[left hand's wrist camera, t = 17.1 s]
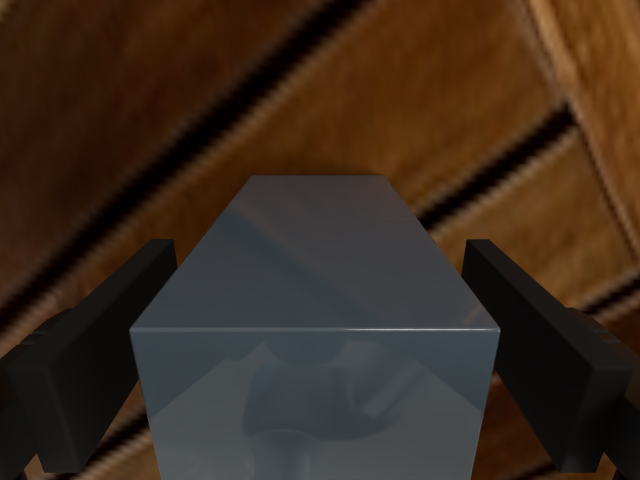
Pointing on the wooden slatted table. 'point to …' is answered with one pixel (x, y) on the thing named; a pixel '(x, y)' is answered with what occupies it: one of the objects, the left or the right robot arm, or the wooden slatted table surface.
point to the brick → (315, 342)
